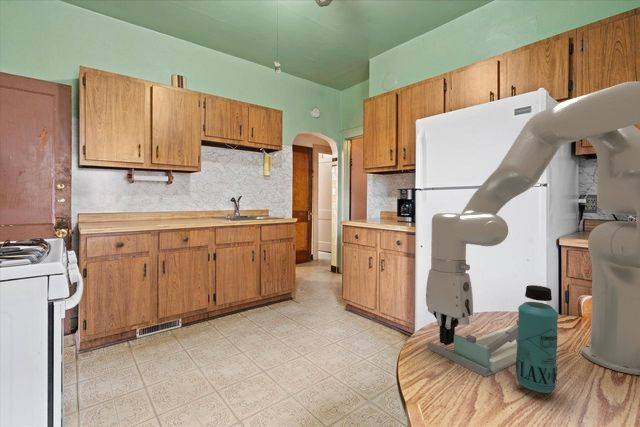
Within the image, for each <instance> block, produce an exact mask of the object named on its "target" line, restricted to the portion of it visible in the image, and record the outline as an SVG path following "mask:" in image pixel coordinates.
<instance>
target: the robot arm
mask: <svg viewBox="0 0 640 427" xmlns="http://www.w3.org/2000/svg"><path fill="white" fill-rule="evenodd" d="M638 124H640V81H639V80H638V81H635V80H634V81H626V82H622V83H618V84H615V85H613V86H610V87H606V88H603V89H599V90H596V91H593V92H590V93H588V94H587V93H586V94H584V95H580V96H578V97H574V98H570V99H567V100H563V101H562V102H558V103H556V104H554V105H551V106H550V107H548V108H546V109H544V110H541V111H539V112H538V113H535V114H534V115H533V116H531V117H530V118H529V119H528V120H527V122H526V123H525V125H524V126H523V128H522V129H521V131H520V132H519V134H518V135H517V137H516V138H515V139H514V142H513V143H512V145H511V147H510V148H509V150H507V153H506V155H505V156H504V157H503V159H502V160H501V161H500V164H499V165H498V167H497V168H495V170H494V171H493V172H492V173H491V174H490V175H489V176H488V177H487V179H486V180H485V181H484V182H482V184H481V185H480V187H478V189H477V190H476V191H475V192H474V193H473V194H472V196H471V198H470V199H469V201H468V202H466V205H465V206H464V209H463V210H462V211H461V213H456V212H455V213H453V212H441V213H440V212H439V213H436V214H434V215H432V217H431V242H430V243H431V248H430V249H431V254H430V256H431V258H430V259H431V260H430V268H429V270H428V275H427V280H426V286H425V287H426V288H425V304H426V307H427V311H428V312H429V313H430V314H431V315H433V317H435V319H436V324H437V325H438V326H439V343H440V344H443V345H445V346H448V345H451V344H454V335H455V334H456V328H457V327H458V326H459V325H460V326H467V325H470V318H469V317H471V316H472V315H473V314H474V297H473V288H472V287H473V286H472V282H471V277H470V274H469V273H467V272H468V271H469V270H470V269H471V266H470V264H469V263H467V259H466V258H467V257H466V256H467V245H474V246H481V247H494V246H497V245H500V244H501V243H502V242H504V241H505V240H506V239H507V237H508V234H509V226H508V224H507V223H508V222H506V220H505V219H504V218H503V217H501V216H500V215H498V213H499V211H500V210H501V209H502V208H503V207H504V206H505V205H506V204H508V203H509V202H510V201H511V200H512V199H514V198H516V197H519V195H522V194H523V193H525V192H527V191H528V190H530V189H531V188H533V187H534V186H535V185H536V184H537V183H538V181H539V180H540V178H541V177H542V176H543V174H544V172H545V171H546V169H547V168H548V166H549V164H550V163H551V162H552V160H553V158H554V157H555V155H556V154H557V152H558V151H559V149H560V148H561V147H562V146H563V145H567V144H571V143H574V142H577V141H581V140H586V141H587V142H589V143H590V144H591V146H592V147H593V149H594V150H595V153H596V157H597V158H596V159H597V161H596V162H597V175H596V176H597V177H596V178H597V179H596V180H597V181H596V182H597V183H596V184H597V185H596V188H597V189H596V198H597V199H596V200H597V205H598V206H599V207H600V209H601V210H602V211H604V212H605V213H608V214H611V215H618V216H620V215H621V216H632V217H633V216H634V217H636V221H624V220H622V221H621V220H616V221H615V220H613V221H612V220H611V221H607V222H604V223H601V224H599V225H597V226H595V227H594V228H593V229H591V231H590V233H589V236H588V239H587V249H588V253H589V258H590V262H591V263H590V264H591V303H590V306H591V309H590V339H589V340H590V343H587V344H584V345H582V346H581V350H580V351H581V354H582V355H583V356H584V357H585V358H586V359H587V360H589V361H591V362H593V363H594V364H597V365H599V366H601V367H604V368H607V369H610V370H612V371H616V372H619V373H620V372H621V373H624V374H630V375H636V376H640V129H639V128H637V127H636V126H635V125H638ZM466 271H467V272H466Z"/></svg>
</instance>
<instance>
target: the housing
mask: <svg viewBox="0 0 640 427" xmlns="http://www.w3.org/2000/svg"><path fill="white" fill-rule="evenodd" d="M513 326H514V325H510V326H507V327H505V328H502V329H501V328H500V329H498V330H496V331H493V332H489V333H487V334H484V335H481V336H478V337H476V343H479V344H481V345H484V346H488V345H489V344H491V343H492V342H493V341H495V340H496V339H498V338H499V337H501V336H502V335H504V334H505V333H506V331H507V330H509V329H510V328H511V327H513ZM426 345H427V348H426V349H428V350H431V351H432V352H434V353H436V354H438V355H440V356H442V357H443V358H446V359H448V360H450V361H452V362H455V363H456V364H459V365H461V366H463V367H464V368H467V369H468V370H471V371H472V370H473V372H475V373H476V372H477V373H476V374H478V373H479V375H480V374H481V375H480V376H482V375H483V376H482V377H484V376H485V377H484V378H488V377H490V376H493V375H494V374H496V373H499V372H500V370H501V371H503V370H505V369H507V368H509V367H511V365H512V366H513V364H514V365H516V364H515V363H516V356H517V351H516V350H517V342H516V339H515V340H514V341H512V343H511V342H507V343H505V344H504V345H503V346H501V347H500V348H498V349H497V350H496V351H494V352H493V353H491V354H490V360H489V372H488V369H487V368H485V367H483V366H481V365H478V364H476V363H474V362H472V361H470V360H468V359H466V358H464V357H462V356H459V355H457V354H455V353H454V351H450V350H449V349H447V348H445V347H442V346H440V345H439V344H436V343H434V342H432V341H430V340H429V341H427V344H426ZM504 368H505V369H504ZM502 369H503V370H502ZM498 371H499V372H498ZM487 376H488V377H487Z"/></svg>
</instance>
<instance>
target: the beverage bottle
mask: <svg viewBox="0 0 640 427" xmlns="http://www.w3.org/2000/svg"><path fill="white" fill-rule="evenodd" d="M524 295H525V298H527V299H530V300H534V301H525V302H523V303H522V304H520V305H519V306H518V307H517V309H518V315H517V316H518V318H517V320H518V340H517V350H516V351H517V356H516V364H515V377H516V381H517V382H518V384H520V385H521V386H523V387H524V388H526V389H529V390H531V391H534V392H537V393H538V392H539V393H543V394H544V393H553V392H554V391H555V389H556V387H557V382H558V378H557V376H558V366H557V359H558V358H557V353H558V352H557V351H558V350H557V349H558V335H559V333H558V323H559V322H558V321H559V320H558V317H559V313H558V312H557V310H556V309H555V308H554V307H552V305H550V304H547V303H544V302H550V301H552V299H553V298H552V297H553V296H552V289H551V288H549V287H546V286H543V285H533V284H531V285H530V284H529V285H527V286H526V287H525V294H524ZM538 301H539V302H538ZM540 301H541V302H540Z"/></svg>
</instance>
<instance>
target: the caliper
mask: <svg viewBox="0 0 640 427" xmlns="http://www.w3.org/2000/svg"><path fill="white" fill-rule="evenodd" d="M515 321H516V324H514V325H512V326H513V327H511V328H510V329H509V330H507V331H506V333H505V334H504V335H502V336H501V337H499V338H498V339H496V340H495V341H493V342H492V343H491V344H489V345H488V346H486V347H488V348H490V354H491V353H493V352H494V351H496V350H497V349H498V348H500V347H501V346H503V345H504V344H505V343H507V342H511V343H512V341H514V340H515V339H516V342H517V340H518V319H516V320H515Z"/></svg>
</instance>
